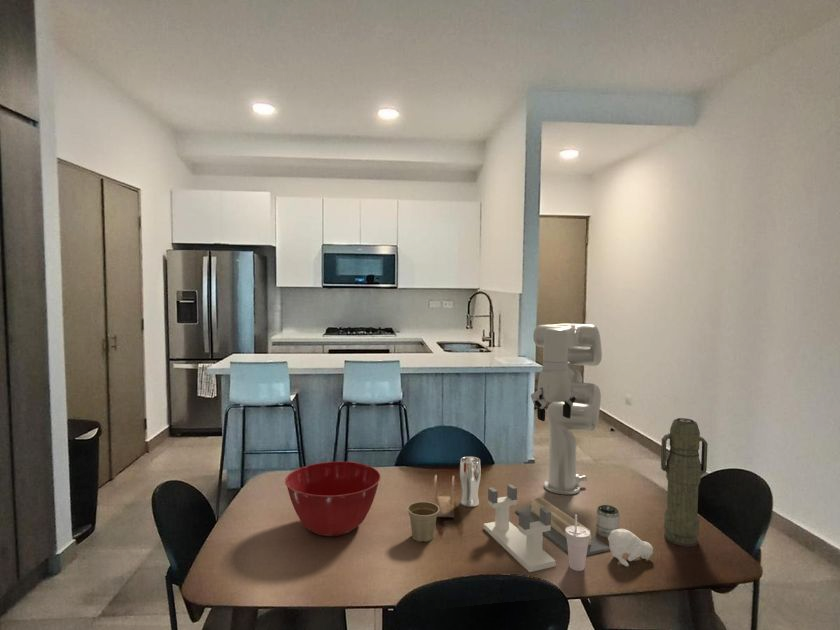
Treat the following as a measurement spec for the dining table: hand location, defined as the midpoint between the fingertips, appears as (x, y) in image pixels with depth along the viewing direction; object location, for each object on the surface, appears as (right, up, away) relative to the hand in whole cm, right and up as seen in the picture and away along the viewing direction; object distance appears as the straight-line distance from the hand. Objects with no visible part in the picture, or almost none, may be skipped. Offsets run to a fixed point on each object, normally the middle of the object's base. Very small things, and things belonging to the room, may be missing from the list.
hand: (554, 418), depth 166 cm
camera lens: (+12, -32, -14) cm, 37 cm away
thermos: (+33, -32, -17) cm, 48 cm away
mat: (-1, -31, -11) cm, 33 cm away
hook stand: (-16, -32, -21) cm, 41 cm away
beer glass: (-27, -30, +7) cm, 41 cm away
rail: (-1, -30, -12) cm, 32 cm away
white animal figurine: (+13, -32, -28) cm, 45 cm away
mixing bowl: (-70, -31, -9) cm, 77 cm away
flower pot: (-42, -32, -16) cm, 55 cm away
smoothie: (-2, -33, -32) cm, 45 cm away
